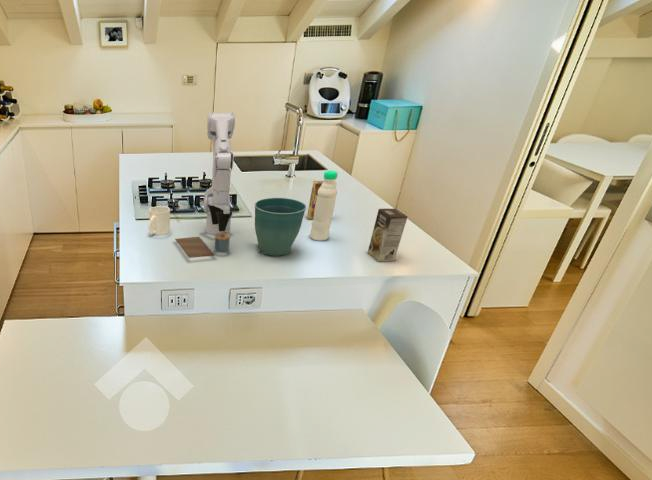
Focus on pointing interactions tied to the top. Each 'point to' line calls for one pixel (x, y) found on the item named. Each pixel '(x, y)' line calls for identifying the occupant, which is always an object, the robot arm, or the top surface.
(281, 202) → the flower pot
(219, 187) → the robot arm
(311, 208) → the candy box
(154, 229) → the mug
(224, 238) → the sugar pot
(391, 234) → the coffee box
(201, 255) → the cutting board
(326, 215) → the water bottle
